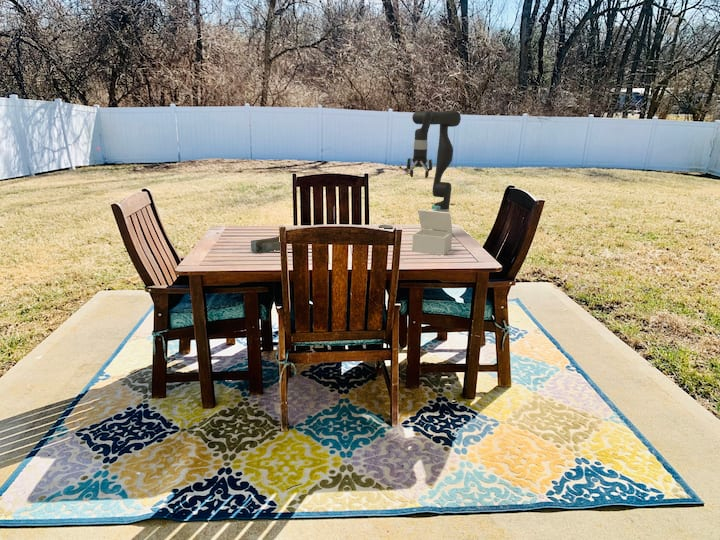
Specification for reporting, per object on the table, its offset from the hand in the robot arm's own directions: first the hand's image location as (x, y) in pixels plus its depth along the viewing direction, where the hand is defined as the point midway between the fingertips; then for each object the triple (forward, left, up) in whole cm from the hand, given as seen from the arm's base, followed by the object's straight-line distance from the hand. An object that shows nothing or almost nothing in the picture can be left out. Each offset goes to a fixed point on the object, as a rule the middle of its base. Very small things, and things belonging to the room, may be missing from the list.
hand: (418, 177), depth 287 cm
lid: (+10, +14, -22) cm, 28 cm away
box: (+14, +14, -38) cm, 43 cm away
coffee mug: (+11, -14, -38) cm, 42 cm away
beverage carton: (+55, -66, -39) cm, 94 cm away
